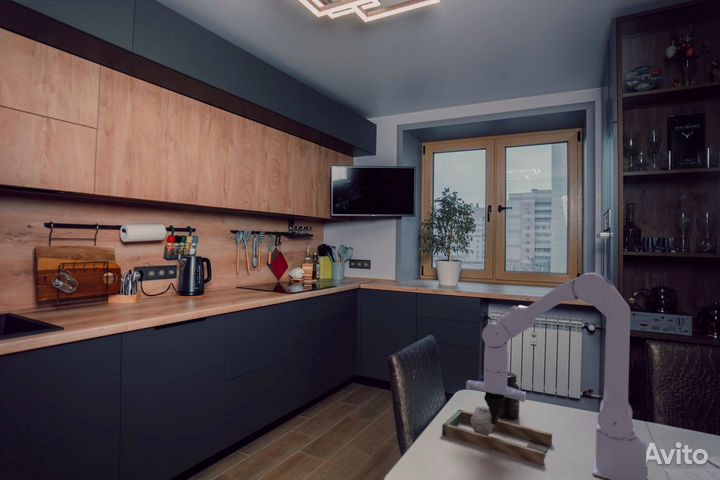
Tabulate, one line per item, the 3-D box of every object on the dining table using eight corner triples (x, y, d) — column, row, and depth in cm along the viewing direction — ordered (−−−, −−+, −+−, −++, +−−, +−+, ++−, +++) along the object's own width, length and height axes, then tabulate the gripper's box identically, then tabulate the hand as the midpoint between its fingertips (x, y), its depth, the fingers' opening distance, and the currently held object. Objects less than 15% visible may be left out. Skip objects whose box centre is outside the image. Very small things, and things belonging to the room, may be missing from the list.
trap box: (551, 443, 100) (552, 433, 100) (543, 465, 90) (543, 454, 90) (458, 418, 113) (459, 409, 113) (442, 434, 103) (442, 424, 103)
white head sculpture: (497, 432, 105) (497, 406, 105) (491, 443, 99) (491, 415, 99) (474, 427, 108) (474, 401, 108) (467, 437, 102) (467, 409, 102)
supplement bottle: (521, 421, 112) (522, 379, 113) (496, 418, 114) (497, 376, 114) (516, 412, 119) (517, 371, 119) (493, 409, 120) (494, 369, 121)
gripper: (528, 371, 101) (527, 424, 101) (472, 360, 109) (471, 410, 109) (522, 378, 96) (521, 435, 95) (464, 366, 104) (462, 419, 103)
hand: (494, 422), depth 102 cm, fingers closed, pressing on white head sculpture
